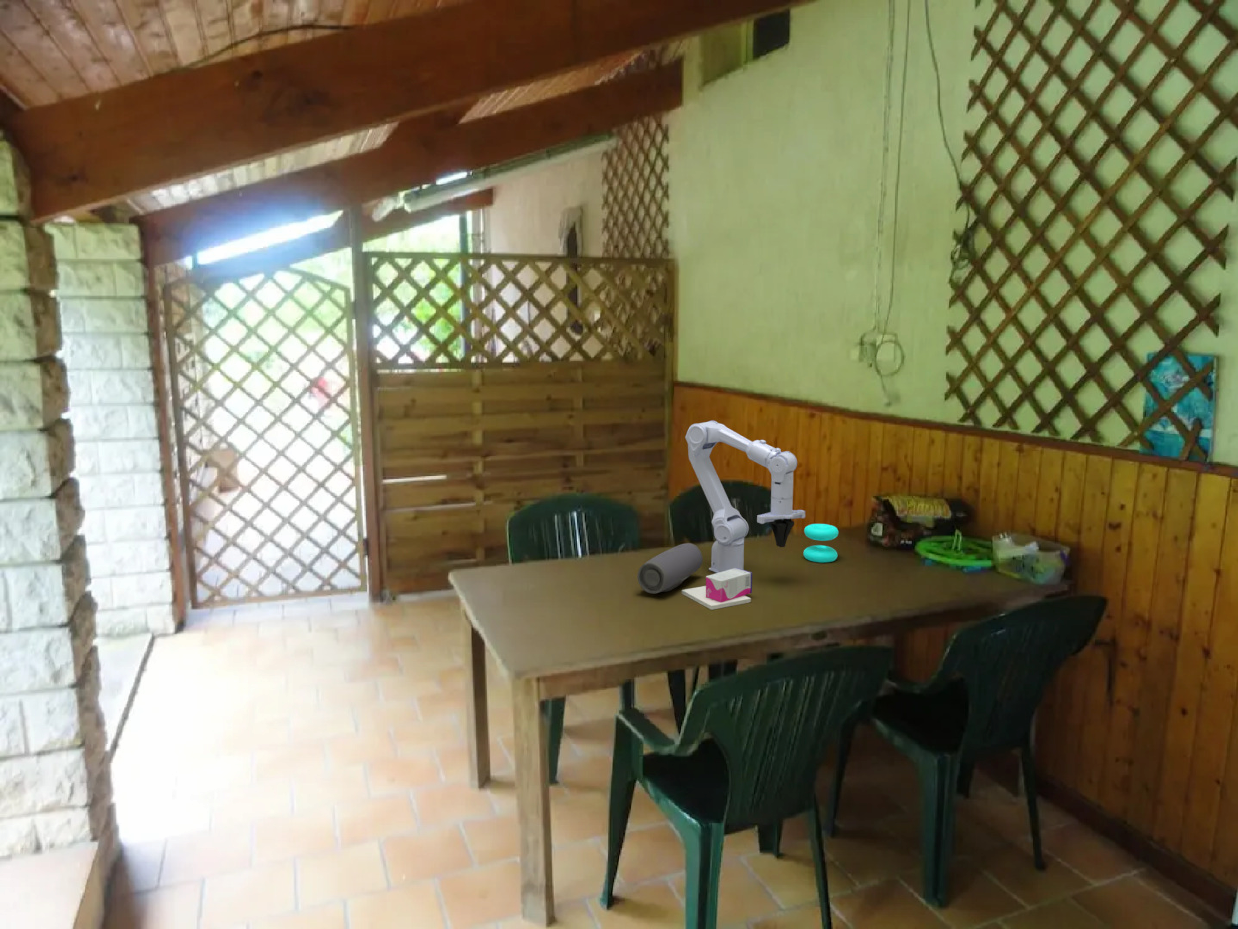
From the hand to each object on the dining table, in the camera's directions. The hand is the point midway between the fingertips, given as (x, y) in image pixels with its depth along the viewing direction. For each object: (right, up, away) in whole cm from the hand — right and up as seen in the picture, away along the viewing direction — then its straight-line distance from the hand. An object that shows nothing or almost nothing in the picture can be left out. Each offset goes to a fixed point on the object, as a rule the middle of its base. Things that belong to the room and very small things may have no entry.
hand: (780, 546), depth 224 cm
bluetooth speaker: (-30, -11, 0) cm, 32 cm away
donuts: (+17, -7, +25) cm, 30 cm away
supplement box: (-11, -8, -8) cm, 16 cm away
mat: (-19, -12, -10) cm, 25 cm away
